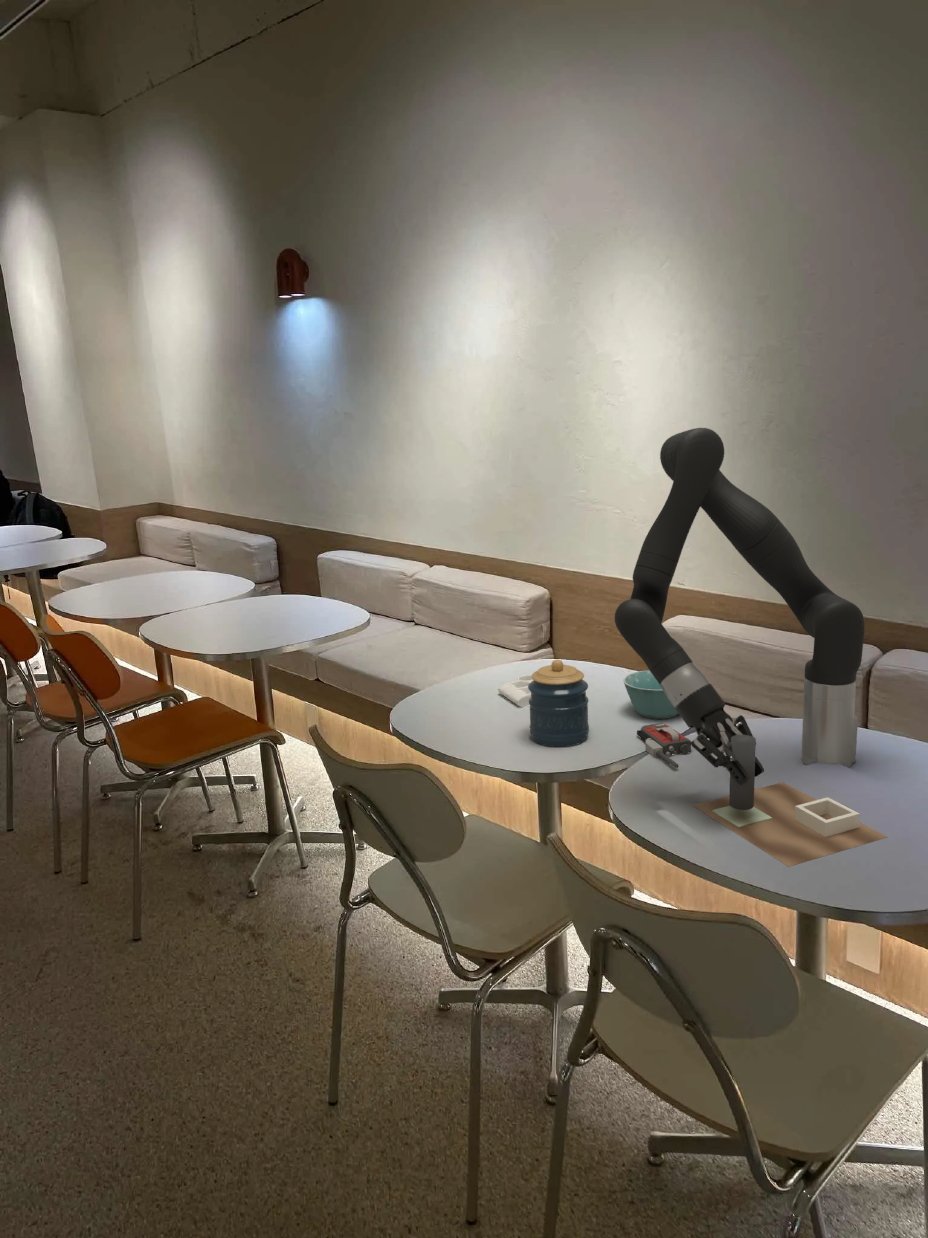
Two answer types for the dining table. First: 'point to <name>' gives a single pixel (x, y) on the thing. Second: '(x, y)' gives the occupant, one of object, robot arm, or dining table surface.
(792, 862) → the brown wooden flat board
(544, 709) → the canister
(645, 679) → the bowl
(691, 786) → the dining table surface
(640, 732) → the walkie-talkie
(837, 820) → the white square frame
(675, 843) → the dining table surface
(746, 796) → the plug
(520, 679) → the white brass knuckles
